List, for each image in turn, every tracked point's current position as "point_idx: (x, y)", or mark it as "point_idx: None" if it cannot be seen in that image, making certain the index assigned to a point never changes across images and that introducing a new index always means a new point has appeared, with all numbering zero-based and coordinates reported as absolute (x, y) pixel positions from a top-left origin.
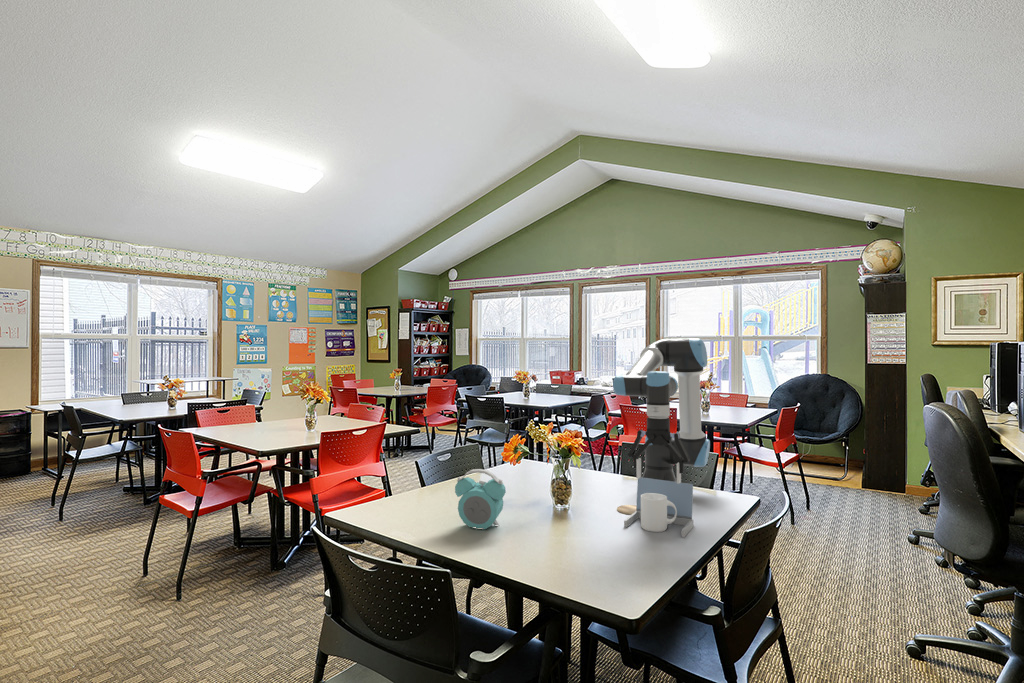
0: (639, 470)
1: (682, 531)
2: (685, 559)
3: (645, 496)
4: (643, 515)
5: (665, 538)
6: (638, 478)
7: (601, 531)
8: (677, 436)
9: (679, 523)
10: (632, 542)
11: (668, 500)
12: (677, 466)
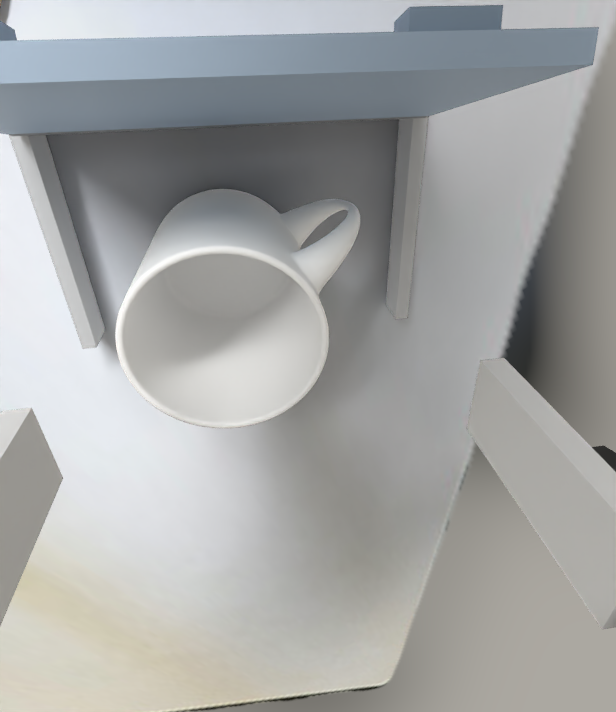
0: (16, 531)
1: (398, 315)
2: (433, 476)
3: (132, 303)
4: (190, 352)
5: None
6: (60, 479)
7: (51, 433)
8: None
9: None
10: (230, 457)
11: (271, 111)
12: (586, 586)
